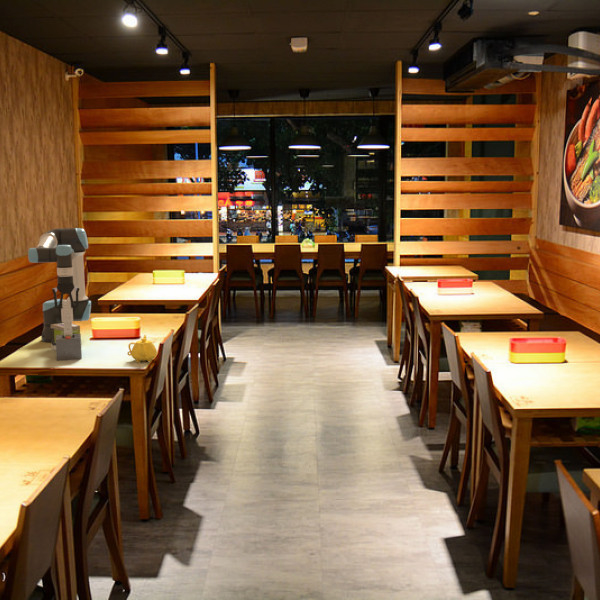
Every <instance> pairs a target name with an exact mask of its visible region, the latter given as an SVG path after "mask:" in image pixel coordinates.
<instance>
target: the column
mask: <svg viewBox="0 0 600 600" xmlns="http://www.w3.org/2000/svg"><path fill="white" fill-rule="evenodd" d="M62 307H63V325H64V338H66V336H71V338H73V335H72V324H73V321H72V319H71V301H70V300H67V299H63V300H62Z"/></svg>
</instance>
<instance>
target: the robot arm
mask: <svg viewBox="0 0 600 600" xmlns="http://www.w3.org/2000/svg"><path fill="white" fill-rule="evenodd" d="M88 249H89V241H88V237H87V233H86V231H85V229H84V228H80V227H78V228H77V227H69V228H68V227H66V228H60V227H59V228H52V229H49V230H47V231H46V232H44V233H43V234H41V236H40V237H39V239H38V244H37V245H36V247H30V248H28V250H27V254H28V255H27V259H28V262H29V263H34V264H35V263H36V264H38V263H39V264H40V263H42V264H43V263H56V275H57V277H56V278H57V279H56V280H57V286H56V287H54V288H52V290H51V291H52V293H53V299H51V300H47V301H45V302H43V303H42V318H43V329H42V333H41V337H40V339H41V342H43V343H51V324H58V323H63V307H62V300H64V299H63V297H64V295H68V297H67V298H66V300H70V301H71V319H72V322H83V321H84V322H85V321H89V319H90V318H91V311H92V300H89V297H88V296H87V295H86V284H85V283H86V281H85V266H84V264H85V263H84V254H85V253H86V251H87V250H88ZM58 291H59V293H60V298H58V296H57V292H58Z"/></svg>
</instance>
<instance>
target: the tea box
mask: <svg viewBox="0 0 600 600" xmlns="http://www.w3.org/2000/svg"><path fill="white" fill-rule="evenodd" d="M72 334H81V326H80V325H79V324H76V323H75V324H74V323H72ZM56 335H64V325H63V323H58V324H51V342H50V343H51V350H52V351H56Z"/></svg>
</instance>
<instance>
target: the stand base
mask: <svg viewBox="0 0 600 600" xmlns="http://www.w3.org/2000/svg"><path fill="white" fill-rule="evenodd" d="M72 335H73V338H71V336H66V338H64V335H56V350H55V353H56V355H55V356H56V361H57V362H58V361H70V360H71V361H72V360H73V361H75V360H82V358H83V357H82V355H83V354H82V353H83V352H82V351H83V350H82V338H81V337H82V333H80V334H72Z"/></svg>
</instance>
